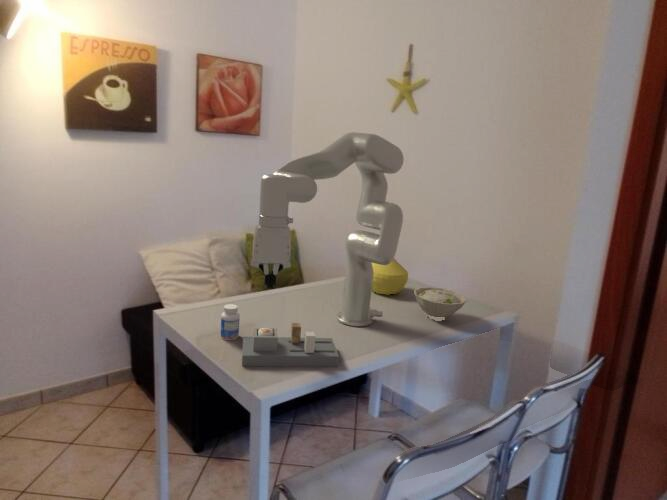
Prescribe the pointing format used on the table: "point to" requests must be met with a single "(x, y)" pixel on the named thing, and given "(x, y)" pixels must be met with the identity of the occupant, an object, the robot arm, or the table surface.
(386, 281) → the vase
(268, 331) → the button ivory
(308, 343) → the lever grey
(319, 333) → the table surface
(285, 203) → the robot arm
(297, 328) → the lever oak
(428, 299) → the bowl
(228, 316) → the pill bottle
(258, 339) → the panel
